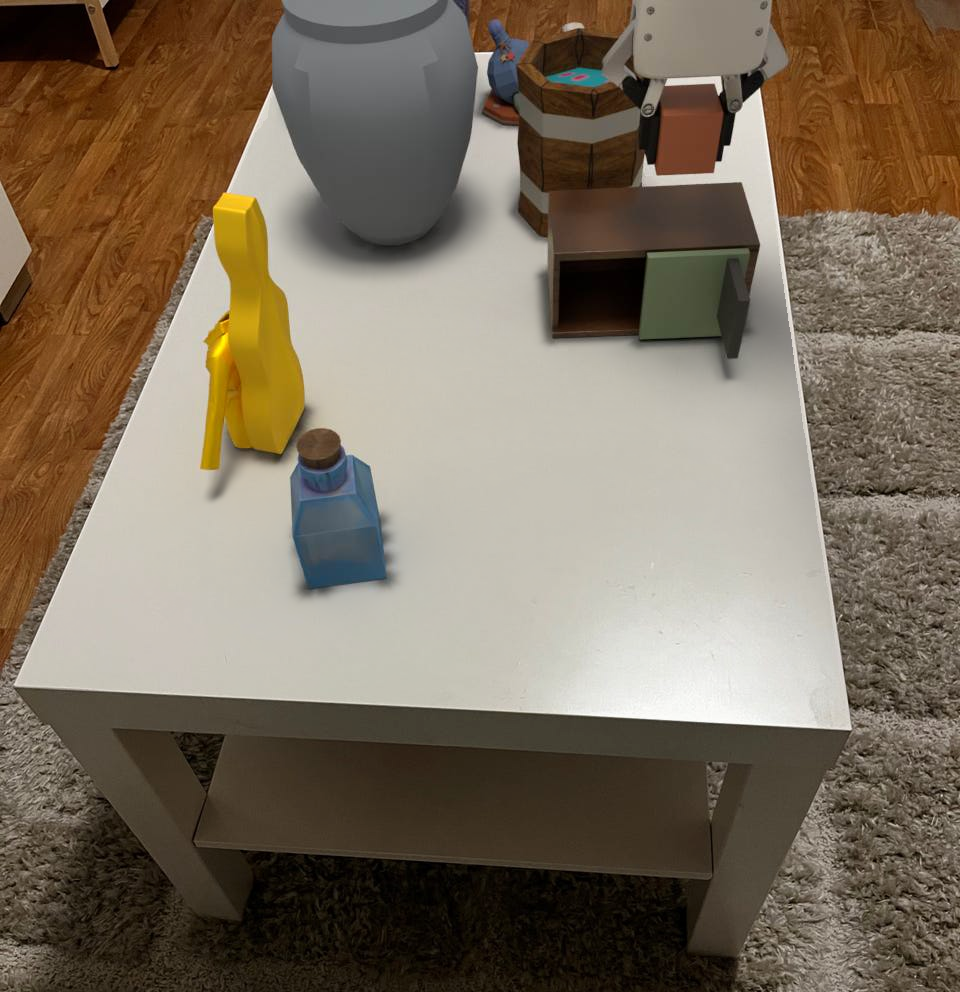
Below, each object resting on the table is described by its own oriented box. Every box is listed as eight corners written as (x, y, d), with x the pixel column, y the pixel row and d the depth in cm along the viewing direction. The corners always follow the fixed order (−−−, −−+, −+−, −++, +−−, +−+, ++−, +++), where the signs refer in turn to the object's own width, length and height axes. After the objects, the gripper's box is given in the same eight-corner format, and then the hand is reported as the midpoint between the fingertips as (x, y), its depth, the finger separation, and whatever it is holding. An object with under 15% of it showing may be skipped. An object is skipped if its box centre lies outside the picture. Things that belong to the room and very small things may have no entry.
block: (705, 143, 84) (714, 82, 80) (713, 173, 81) (723, 112, 77) (650, 145, 84) (656, 85, 80) (656, 176, 81) (663, 115, 77)
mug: (652, 238, 101) (668, 89, 89) (522, 248, 101) (521, 99, 89) (625, 141, 112) (637, -4, 100) (509, 149, 112) (506, 6, 100)
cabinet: (726, 267, 98) (741, 181, 90) (742, 330, 92) (760, 244, 85) (547, 275, 98) (548, 190, 91) (552, 338, 92) (554, 253, 85)
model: (476, 122, 116) (472, 39, 109) (493, 85, 121) (491, 3, 114) (575, 130, 114) (578, 45, 107) (588, 91, 119) (592, 8, 112)
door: (731, 330, 92) (748, 247, 84) (743, 377, 88) (762, 295, 81) (638, 334, 92) (647, 252, 85) (646, 381, 88) (656, 300, 81)
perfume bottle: (380, 520, 80) (359, 408, 70) (386, 578, 76) (365, 468, 67) (305, 530, 80) (273, 419, 70) (308, 589, 76) (275, 480, 66)
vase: (295, 285, 99) (236, 24, 79) (311, 181, 110) (263, -70, 90) (486, 276, 99) (474, 11, 79) (482, 172, 110) (472, -82, 90)
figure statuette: (266, 362, 92) (202, 129, 74) (344, 372, 91) (298, 138, 73) (192, 496, 83) (97, 265, 65) (278, 509, 81) (206, 278, 63)
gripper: (827, -130, 69) (774, 127, 84) (589, -117, 70) (578, 136, 85) (852, -89, 65) (791, 174, 80) (597, -76, 65) (584, 183, 80)
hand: (682, 152), depth 82 cm, fingers closed on block, 4 cm apart
